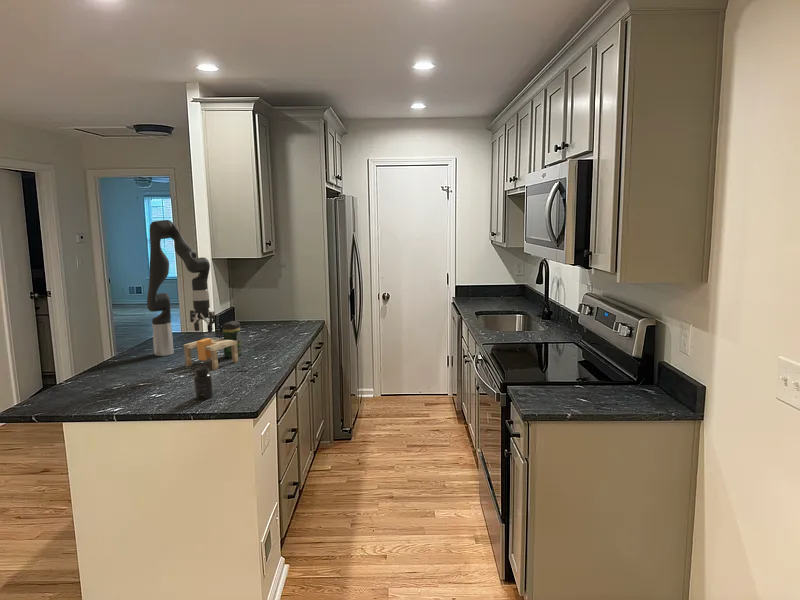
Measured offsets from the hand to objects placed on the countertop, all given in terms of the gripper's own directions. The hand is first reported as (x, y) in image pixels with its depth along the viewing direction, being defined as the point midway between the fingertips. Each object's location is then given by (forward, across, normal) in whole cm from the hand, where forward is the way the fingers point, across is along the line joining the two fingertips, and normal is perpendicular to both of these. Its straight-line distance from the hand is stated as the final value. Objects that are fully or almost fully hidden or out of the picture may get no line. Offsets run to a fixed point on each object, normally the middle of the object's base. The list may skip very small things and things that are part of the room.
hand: (203, 331), depth 263 cm
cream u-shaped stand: (+17, 0, +4) cm, 18 cm away
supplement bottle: (+17, +37, -37) cm, 55 cm away
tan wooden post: (+14, 0, 0) cm, 14 cm away
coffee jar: (+18, -1, +20) cm, 27 cm away
